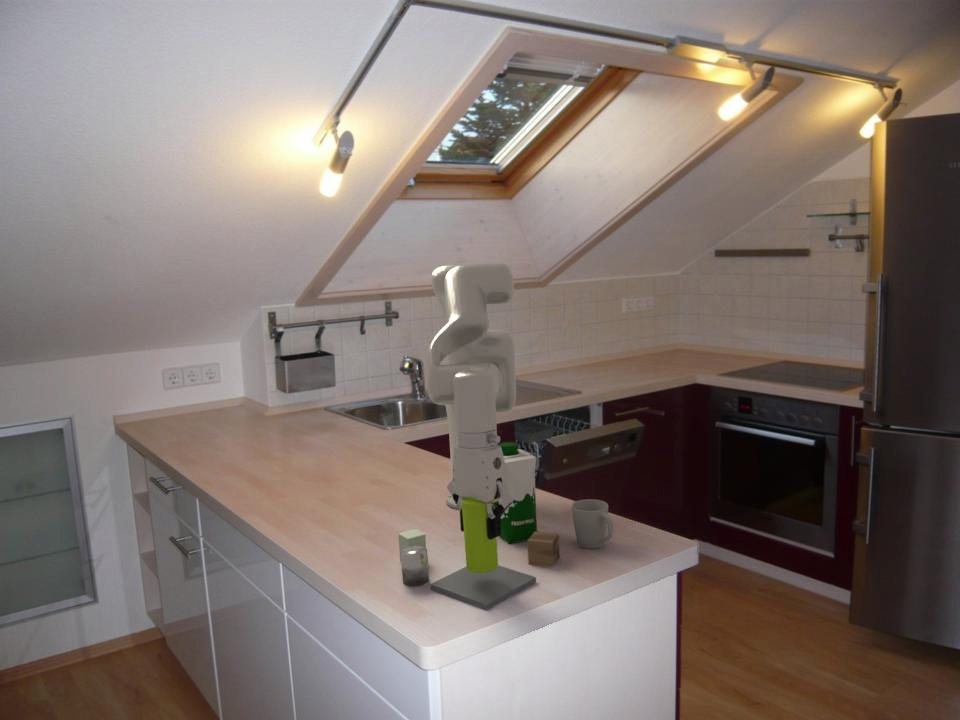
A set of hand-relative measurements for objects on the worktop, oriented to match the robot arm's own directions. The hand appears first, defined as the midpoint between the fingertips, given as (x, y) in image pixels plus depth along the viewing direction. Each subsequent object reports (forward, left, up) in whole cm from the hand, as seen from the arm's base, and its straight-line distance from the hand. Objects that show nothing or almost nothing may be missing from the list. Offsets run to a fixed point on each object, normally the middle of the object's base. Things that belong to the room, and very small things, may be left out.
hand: (480, 532), depth 148 cm
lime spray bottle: (0, 0, -7) cm, 7 cm away
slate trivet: (0, 0, -10) cm, 10 cm away
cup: (-28, +6, -11) cm, 31 cm away
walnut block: (-16, +2, -11) cm, 19 cm away
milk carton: (-23, -11, -11) cm, 28 cm away
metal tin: (+6, -12, -10) cm, 17 cm away
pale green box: (0, -19, -11) cm, 22 cm away
